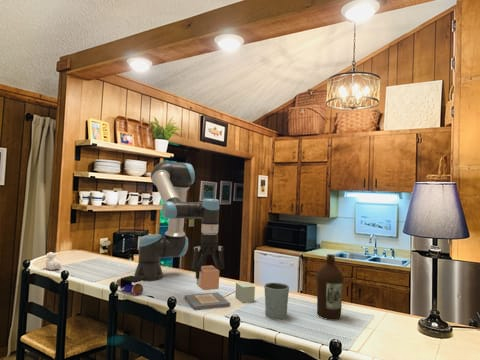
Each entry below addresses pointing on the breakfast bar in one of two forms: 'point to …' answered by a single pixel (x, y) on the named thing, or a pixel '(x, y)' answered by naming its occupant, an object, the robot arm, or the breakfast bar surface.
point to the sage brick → (245, 292)
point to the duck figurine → (52, 262)
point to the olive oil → (329, 290)
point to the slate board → (206, 301)
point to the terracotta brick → (209, 278)
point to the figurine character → (127, 284)
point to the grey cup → (276, 300)
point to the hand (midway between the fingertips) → (207, 285)
